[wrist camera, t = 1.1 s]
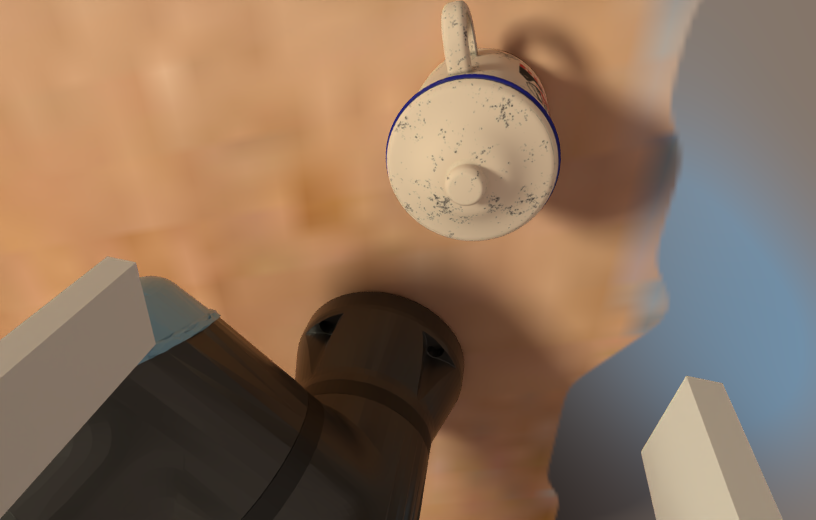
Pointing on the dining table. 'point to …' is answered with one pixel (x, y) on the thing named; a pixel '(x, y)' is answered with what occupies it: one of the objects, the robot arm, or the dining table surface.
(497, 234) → the teacup with lid
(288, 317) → the dining table surface
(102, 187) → the dining table surface
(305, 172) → the dining table surface
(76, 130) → the dining table surface
